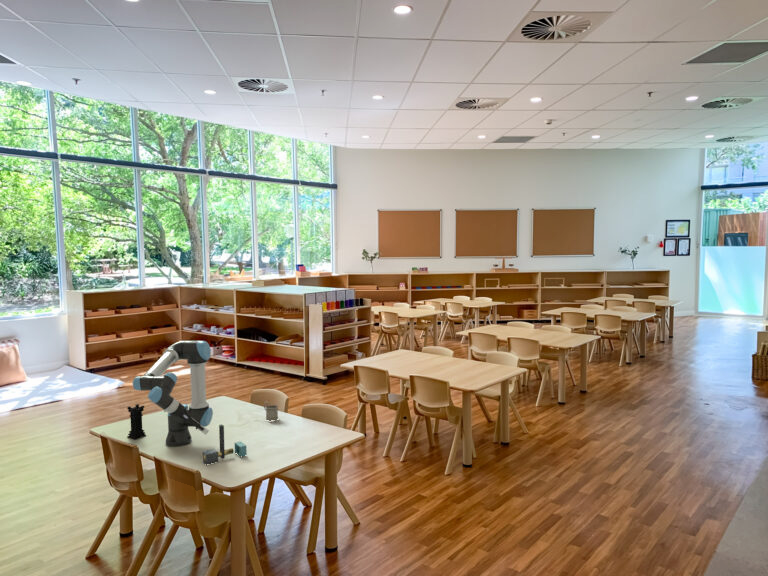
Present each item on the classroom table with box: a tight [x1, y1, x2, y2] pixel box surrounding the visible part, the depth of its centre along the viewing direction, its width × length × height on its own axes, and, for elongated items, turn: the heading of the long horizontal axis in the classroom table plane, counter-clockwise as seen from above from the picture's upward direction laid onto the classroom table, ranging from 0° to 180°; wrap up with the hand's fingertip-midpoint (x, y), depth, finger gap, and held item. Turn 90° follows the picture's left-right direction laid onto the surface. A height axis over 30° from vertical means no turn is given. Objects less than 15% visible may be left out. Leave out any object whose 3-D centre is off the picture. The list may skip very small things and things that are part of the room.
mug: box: [263, 401, 279, 421], centre depth 362 cm, size 14×10×12 cm
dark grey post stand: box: [202, 424, 235, 461], centre depth 289 cm, size 3×16×19 cm, turn 129°
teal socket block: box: [233, 440, 248, 458], centre depth 298 cm, size 9×4×6 cm, turn 39°
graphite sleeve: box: [202, 448, 219, 466], centre depth 287 cm, size 5×7×6 cm
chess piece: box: [126, 403, 147, 441], centre depth 328 cm, size 8×8×20 cm
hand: (202, 429), depth 283 cm, fingers open, 13 cm apart
